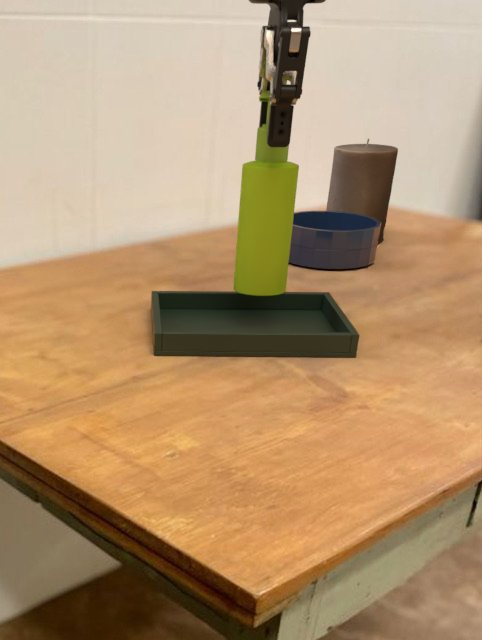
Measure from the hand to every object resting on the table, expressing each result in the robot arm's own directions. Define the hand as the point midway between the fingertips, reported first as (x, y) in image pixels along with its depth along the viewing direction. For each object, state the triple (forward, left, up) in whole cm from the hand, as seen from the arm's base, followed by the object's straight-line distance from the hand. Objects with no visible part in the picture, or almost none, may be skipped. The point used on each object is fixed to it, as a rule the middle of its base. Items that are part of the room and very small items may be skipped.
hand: (273, 142), depth 84 cm
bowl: (-15, -33, -20) cm, 42 cm away
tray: (+1, +1, -20) cm, 20 cm away
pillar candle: (-22, -46, -20) cm, 55 cm away
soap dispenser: (0, 0, -15) cm, 15 cm away
